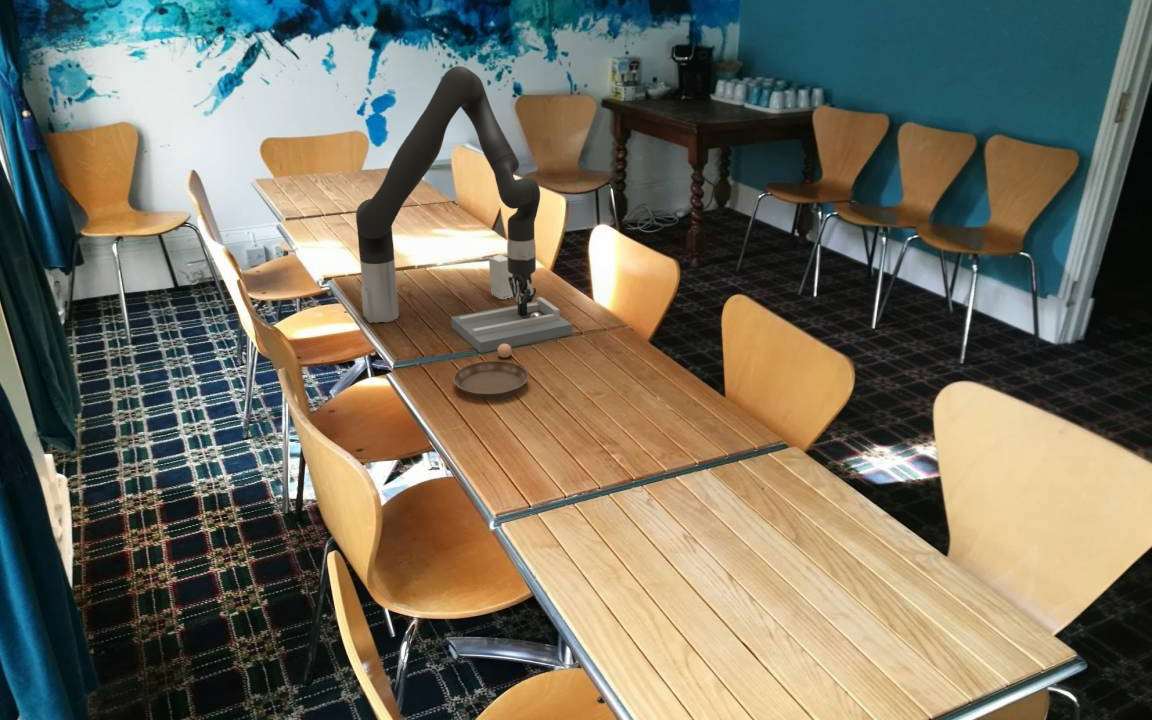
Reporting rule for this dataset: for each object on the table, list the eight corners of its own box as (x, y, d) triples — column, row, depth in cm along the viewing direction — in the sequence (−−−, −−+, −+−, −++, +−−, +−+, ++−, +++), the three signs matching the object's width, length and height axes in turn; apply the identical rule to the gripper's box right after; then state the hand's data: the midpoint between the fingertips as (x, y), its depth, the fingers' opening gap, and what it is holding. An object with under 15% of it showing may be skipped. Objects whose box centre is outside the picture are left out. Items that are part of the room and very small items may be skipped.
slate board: (480, 353, 227) (479, 331, 224) (451, 327, 243) (450, 306, 240) (572, 334, 239) (572, 313, 236) (538, 310, 255) (538, 291, 252)
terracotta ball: (501, 361, 223) (500, 347, 221) (495, 355, 226) (494, 342, 224) (514, 358, 224) (513, 345, 223) (508, 353, 227) (507, 340, 226)
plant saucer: (459, 408, 200) (459, 396, 198) (449, 375, 215) (448, 364, 214) (535, 399, 204) (535, 388, 203) (520, 368, 219) (519, 357, 218)
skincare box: (513, 297, 265) (512, 259, 260) (501, 300, 262) (500, 261, 257) (501, 292, 269) (500, 254, 264) (489, 295, 266) (488, 256, 261)
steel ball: (531, 327, 241) (535, 314, 240) (524, 322, 244) (528, 309, 243) (543, 329, 244) (547, 315, 242) (536, 324, 247) (540, 310, 246)
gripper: (498, 249, 237) (499, 309, 244) (519, 263, 227) (520, 325, 234) (523, 245, 240) (524, 305, 248) (545, 259, 230) (545, 320, 237)
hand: (522, 315), depth 241 cm, fingers closed
